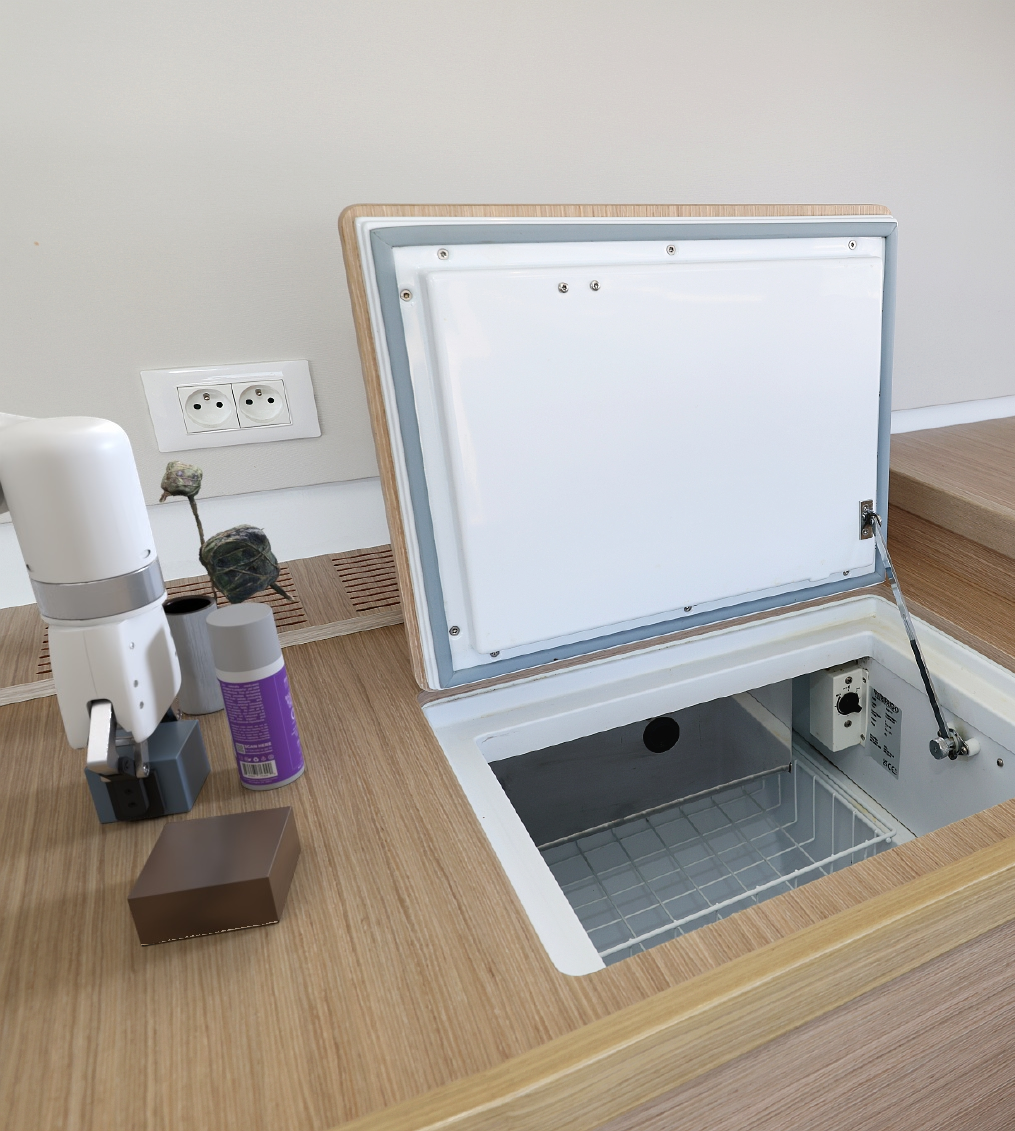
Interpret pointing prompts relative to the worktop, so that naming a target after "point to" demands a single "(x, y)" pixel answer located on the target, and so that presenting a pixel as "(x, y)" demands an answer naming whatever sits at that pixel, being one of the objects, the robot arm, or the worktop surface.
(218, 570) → the plant with pod
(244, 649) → the container
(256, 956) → the worktop surface
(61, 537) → the robot arm
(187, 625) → the planter
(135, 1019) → the worktop surface
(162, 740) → the top block
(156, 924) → the base block
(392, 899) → the worktop surface
